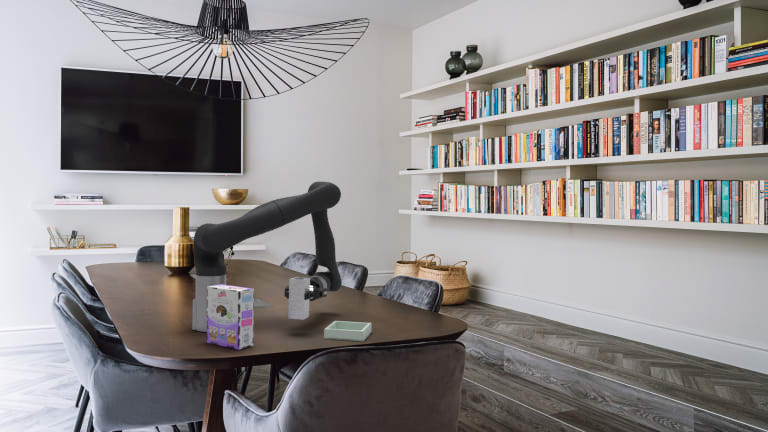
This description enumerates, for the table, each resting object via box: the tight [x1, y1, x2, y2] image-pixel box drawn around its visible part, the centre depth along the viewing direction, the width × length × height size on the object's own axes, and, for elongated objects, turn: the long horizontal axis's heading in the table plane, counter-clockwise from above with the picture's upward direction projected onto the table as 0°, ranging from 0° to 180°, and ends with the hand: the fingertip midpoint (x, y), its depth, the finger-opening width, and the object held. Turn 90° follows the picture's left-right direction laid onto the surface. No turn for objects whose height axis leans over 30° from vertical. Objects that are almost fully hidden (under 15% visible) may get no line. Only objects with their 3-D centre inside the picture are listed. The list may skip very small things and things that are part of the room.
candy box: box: [206, 284, 255, 351], centre depth 162 cm, size 14×6×16 cm, turn 56°
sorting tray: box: [323, 320, 372, 343], centre depth 176 cm, size 12×12×3 cm
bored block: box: [287, 276, 310, 321], centre depth 176 cm, size 5×5×12 cm
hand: (296, 295), depth 174 cm, fingers closed on bored block, 5 cm apart
